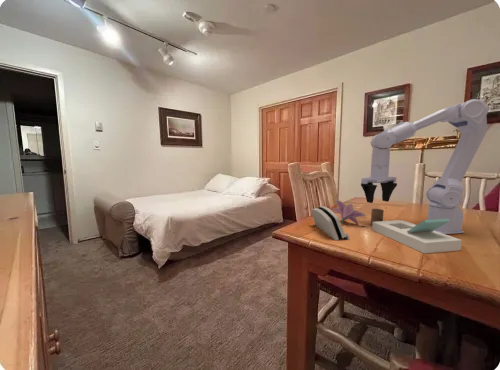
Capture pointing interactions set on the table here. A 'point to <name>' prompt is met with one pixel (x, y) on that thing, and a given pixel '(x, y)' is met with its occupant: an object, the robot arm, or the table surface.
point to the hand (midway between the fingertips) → (377, 201)
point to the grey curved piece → (328, 222)
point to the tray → (417, 237)
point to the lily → (347, 212)
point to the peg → (377, 215)
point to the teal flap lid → (428, 225)
